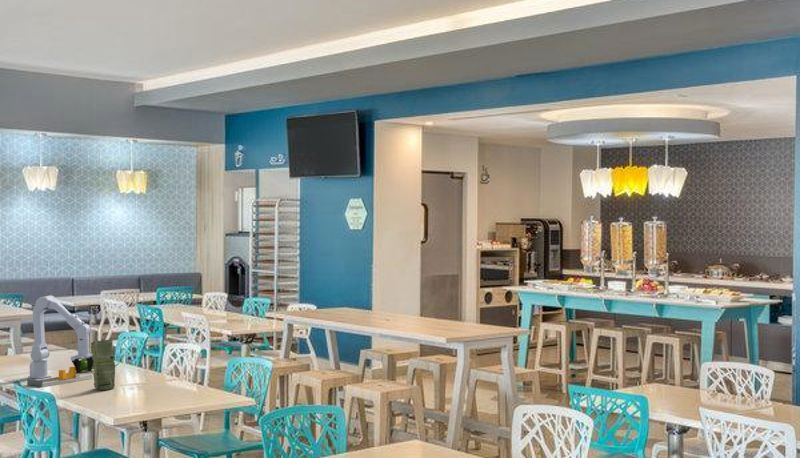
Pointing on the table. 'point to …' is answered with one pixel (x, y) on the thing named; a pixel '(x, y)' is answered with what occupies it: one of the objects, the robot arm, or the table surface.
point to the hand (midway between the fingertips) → (83, 372)
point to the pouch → (103, 364)
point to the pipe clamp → (67, 374)
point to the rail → (41, 382)
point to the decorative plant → (85, 367)
